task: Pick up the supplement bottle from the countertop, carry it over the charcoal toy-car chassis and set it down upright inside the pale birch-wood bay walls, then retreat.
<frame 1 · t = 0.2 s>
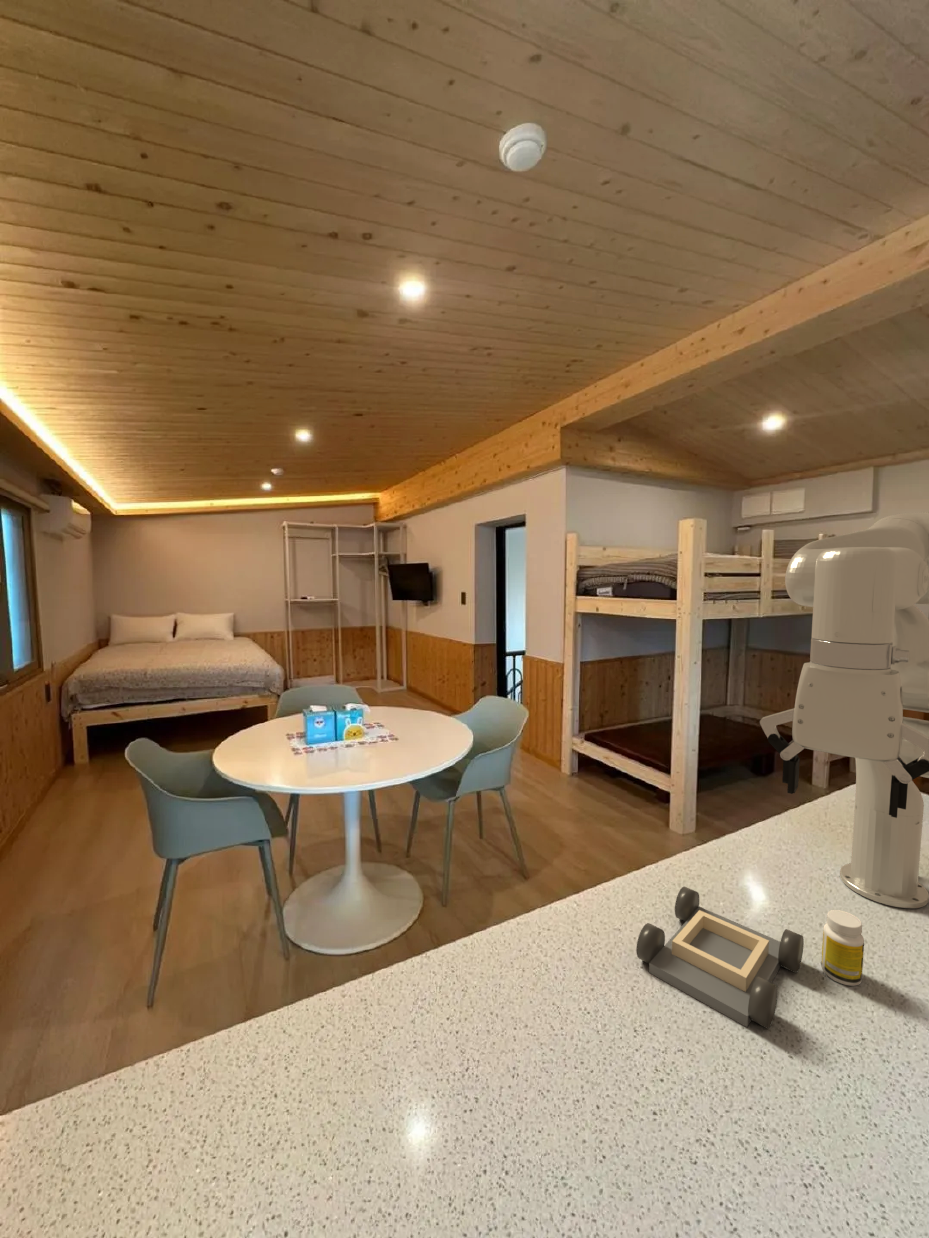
hand: (840, 800, 62), 30 cm above the countertop, fingers open, 9 cm apart
toy chassis: (719, 963, 78), on the countertop
supplement bottle: (840, 975, 76), on the countertop
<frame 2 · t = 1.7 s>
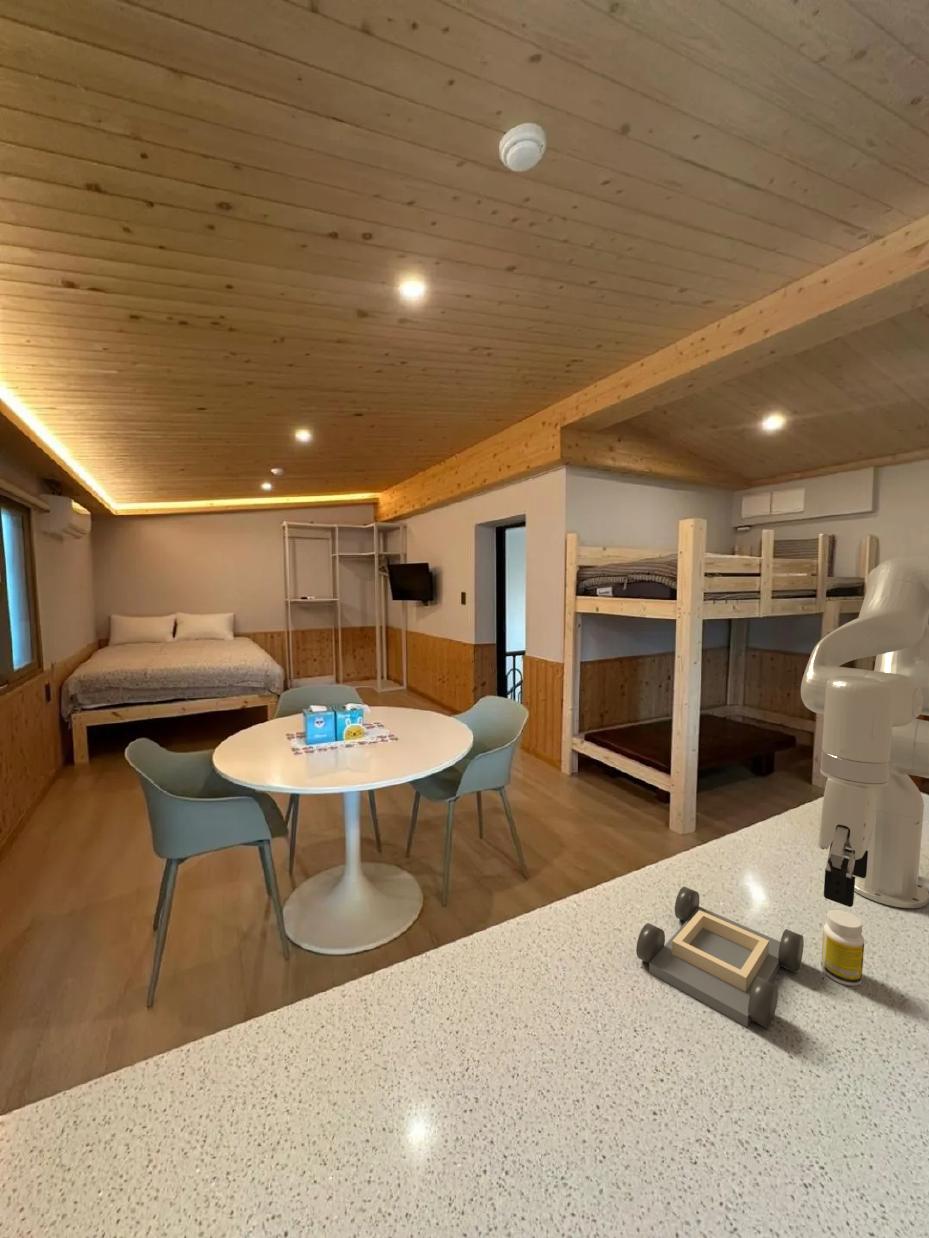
hand: (845, 887, 74), 13 cm above the countertop, fingers open, 9 cm apart
nothing on the countertop moved.
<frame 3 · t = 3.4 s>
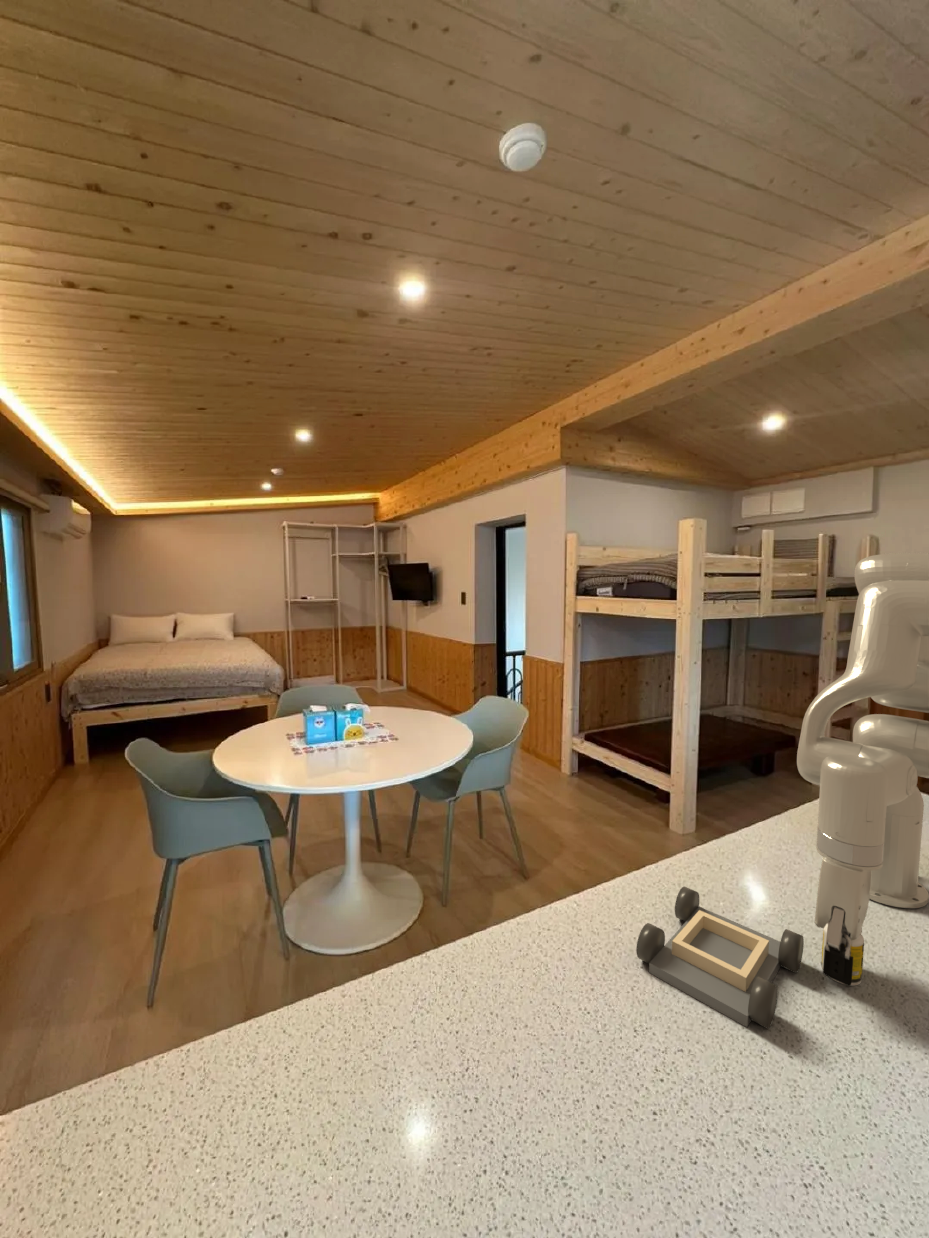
hand: (841, 967, 76), 1 cm above the countertop, fingers closed on supplement bottle, 4 cm apart
supplement bottle: (840, 975, 76), on the countertop, touching gripper
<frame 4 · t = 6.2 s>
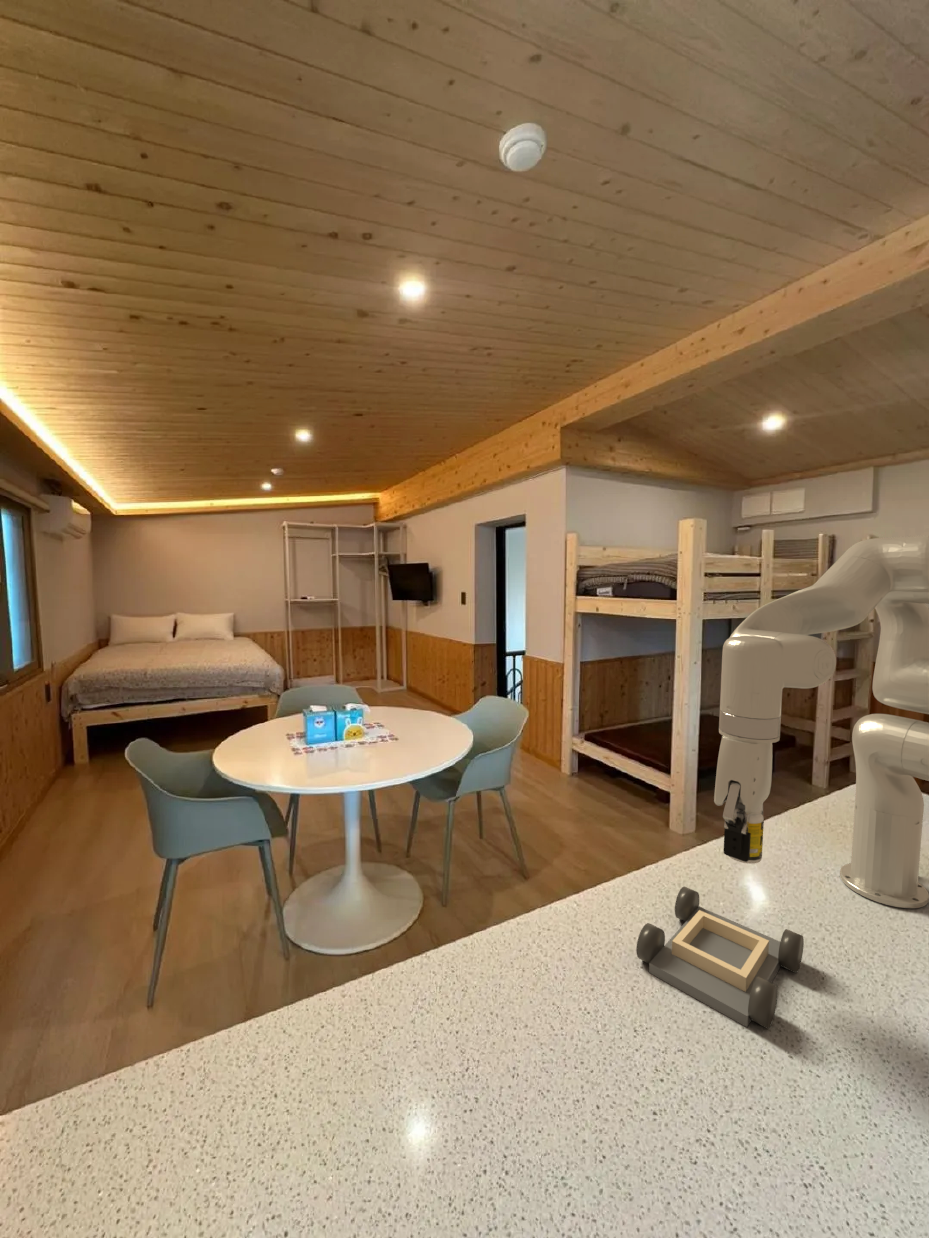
hand: (742, 848, 76), 18 cm above the countertop, fingers closed on supplement bottle, 4 cm apart
supplement bottle: (742, 856, 76), point 17 cm above the countertop, touching gripper
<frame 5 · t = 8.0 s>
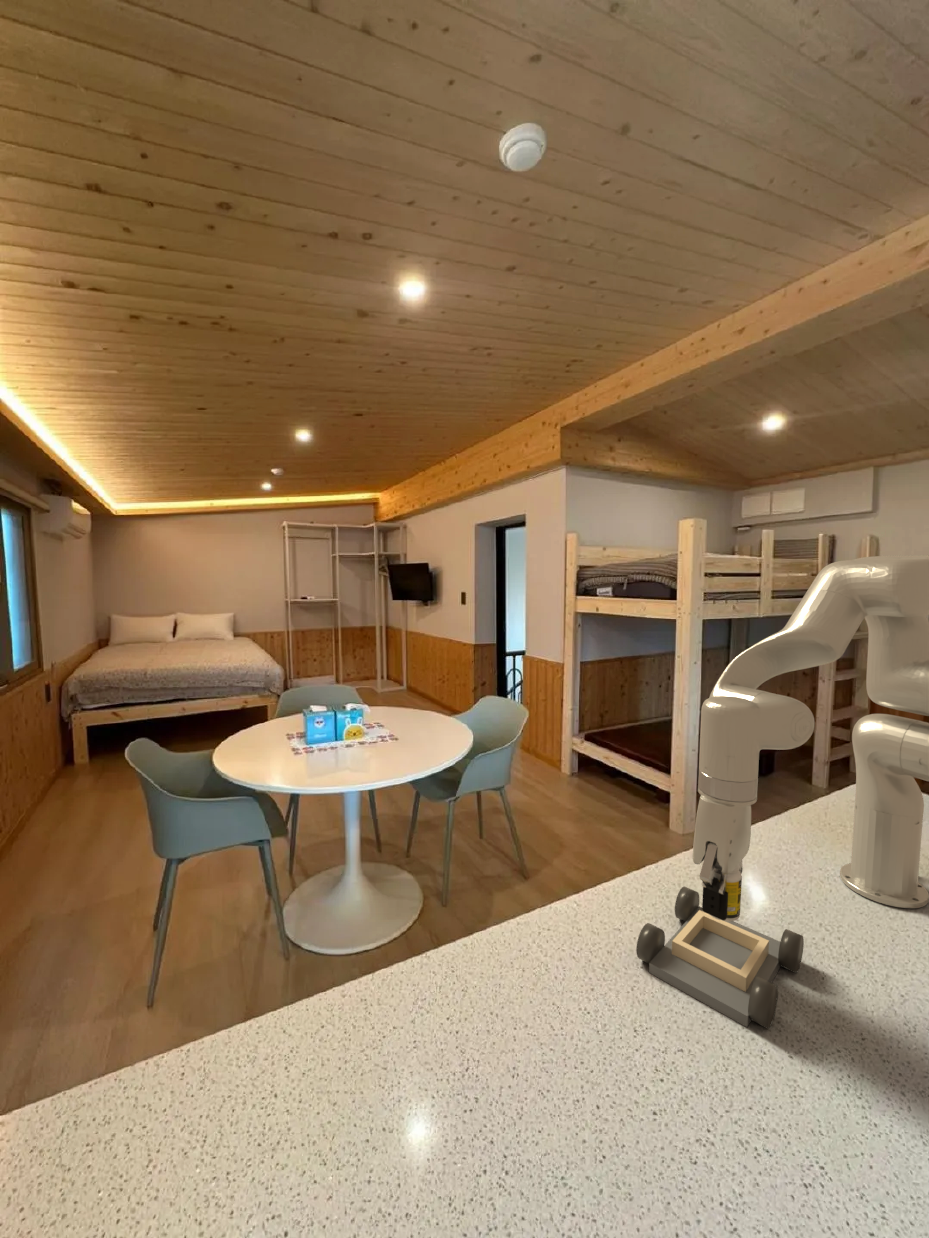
hand: (721, 905, 77), 9 cm above the countertop, fingers closed on supplement bottle, 4 cm apart
supplement bottle: (721, 913, 77), point 8 cm above the countertop, touching gripper
when the fingers open (5 cm above the countertop, at t = 9.2 s): supplement bottle drops 2 cm, resting on toy chassis.
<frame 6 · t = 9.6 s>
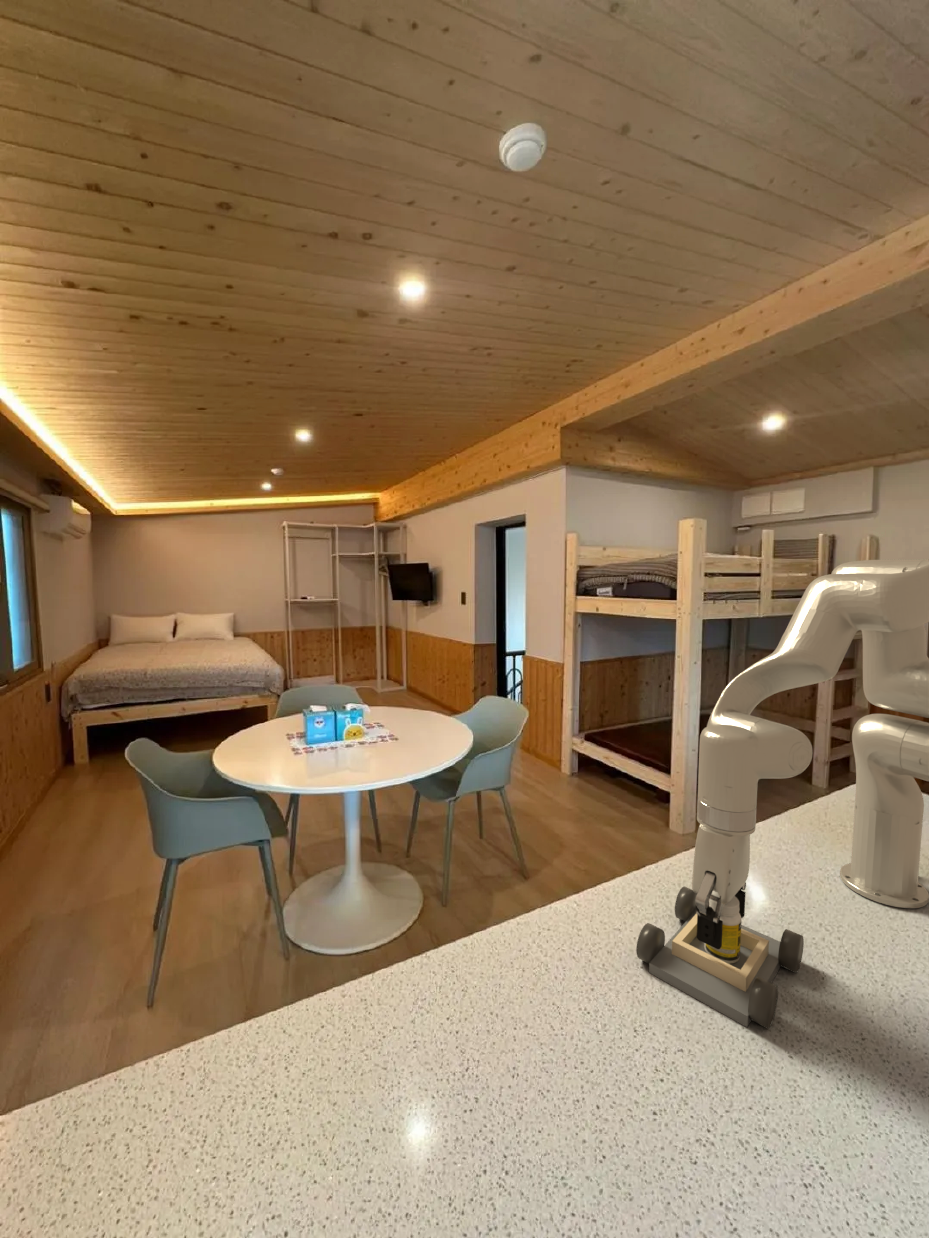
hand: (721, 927, 77), 6 cm above the countertop, fingers open, 8 cm apart
supplement bottle: (721, 954, 78), point 1 cm above the countertop, touching toy chassis
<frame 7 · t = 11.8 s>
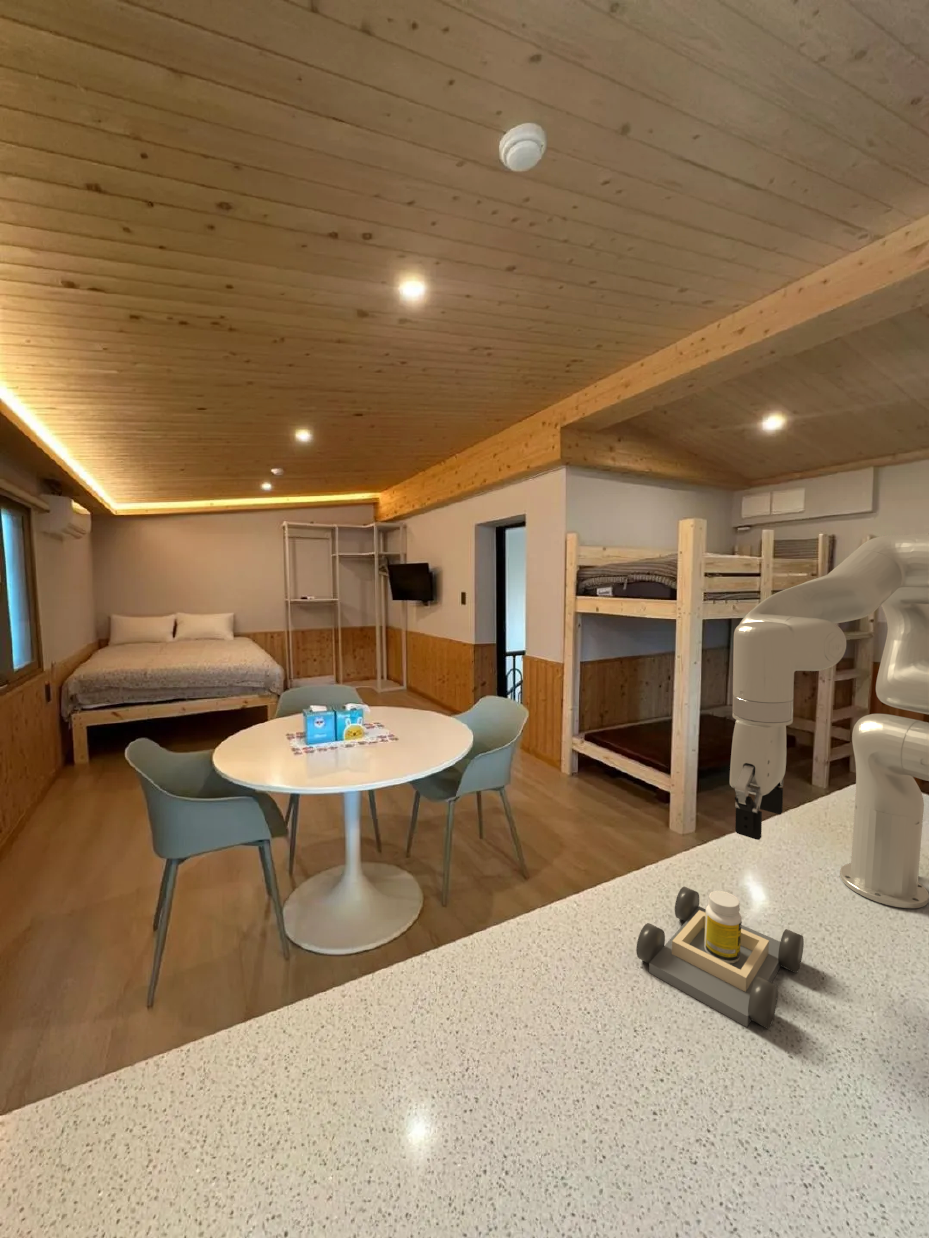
hand: (759, 822, 78), 21 cm above the countertop, fingers open, 9 cm apart
nothing on the countertop moved.
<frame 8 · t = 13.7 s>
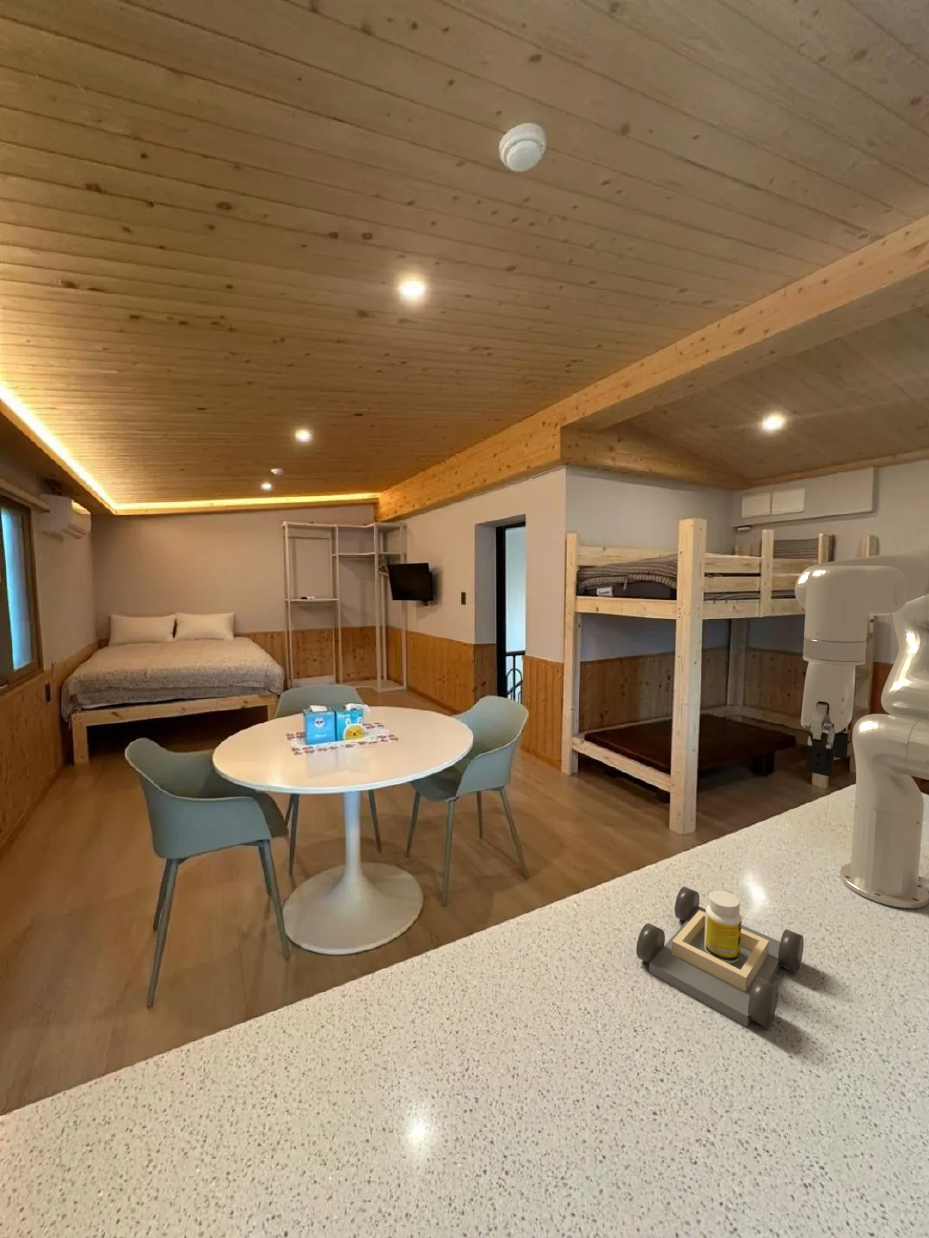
hand: (826, 764, 79), 28 cm above the countertop, fingers open, 9 cm apart
nothing on the countertop moved.
at the end: supplement bottle 0.3 cm off-centre on the toy chassis, point 1.3 cm above the toy chassis's base; supplement bottle tilted 0°; the gripper is holding nothing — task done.
